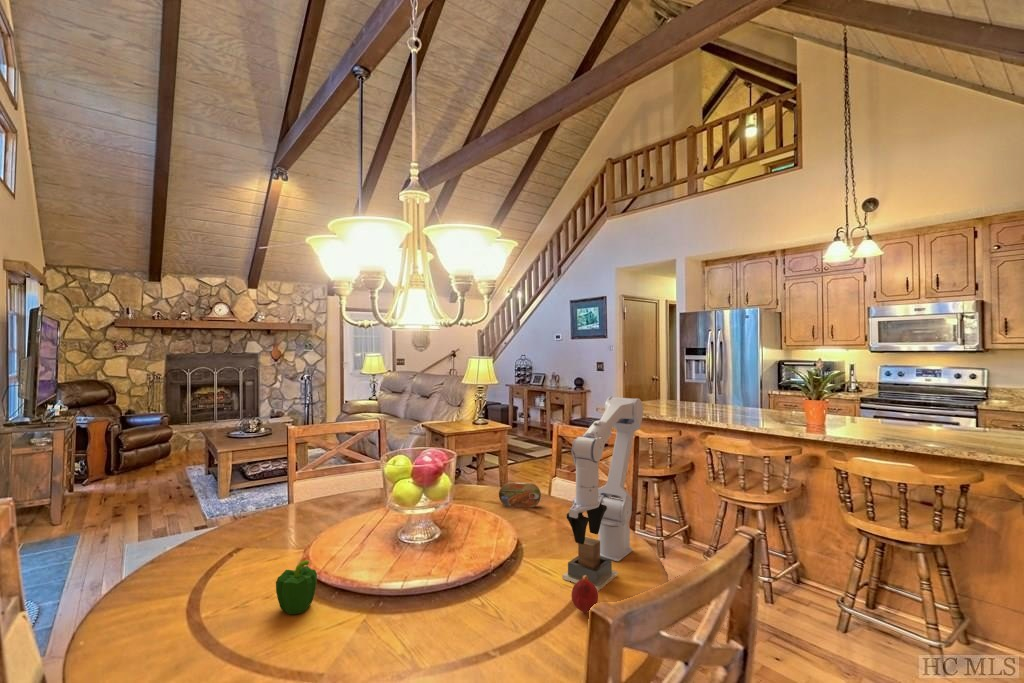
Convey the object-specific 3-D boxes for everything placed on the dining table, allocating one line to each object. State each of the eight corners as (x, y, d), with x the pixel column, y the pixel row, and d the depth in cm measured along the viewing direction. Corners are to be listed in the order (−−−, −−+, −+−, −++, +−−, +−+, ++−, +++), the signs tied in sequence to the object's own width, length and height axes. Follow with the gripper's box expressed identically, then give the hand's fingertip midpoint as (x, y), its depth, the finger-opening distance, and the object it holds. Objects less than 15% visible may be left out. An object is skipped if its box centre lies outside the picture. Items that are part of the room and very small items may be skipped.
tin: (498, 506, 178) (498, 482, 178) (500, 503, 181) (500, 480, 181) (540, 508, 175) (540, 485, 175) (541, 505, 178) (541, 482, 178)
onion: (597, 621, 105) (597, 583, 105) (570, 618, 106) (570, 581, 106) (598, 607, 111) (598, 571, 111) (572, 604, 112) (572, 568, 112)
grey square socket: (582, 564, 132) (582, 549, 132) (617, 575, 125) (617, 559, 125) (562, 578, 124) (562, 562, 124) (598, 591, 118) (598, 574, 118)
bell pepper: (276, 623, 104) (276, 575, 104) (275, 604, 111) (275, 560, 111) (319, 613, 108) (319, 567, 108) (315, 595, 115) (315, 553, 115)
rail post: (586, 567, 128) (586, 536, 128) (600, 572, 125) (600, 540, 125) (578, 573, 124) (578, 541, 124) (592, 578, 122) (592, 545, 122)
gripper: (586, 475, 134) (586, 525, 134) (558, 488, 122) (558, 543, 123) (610, 480, 130) (610, 531, 130) (583, 494, 118) (583, 550, 118)
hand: (587, 538), depth 126 cm, fingers open, 7 cm apart
